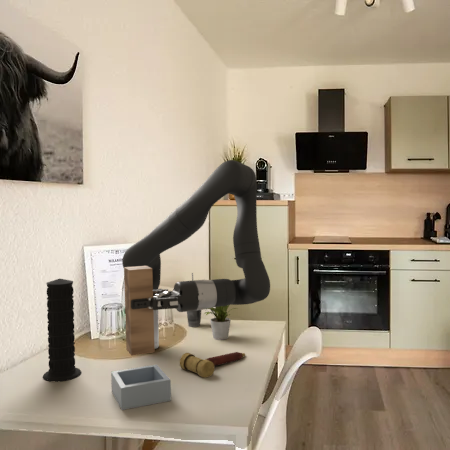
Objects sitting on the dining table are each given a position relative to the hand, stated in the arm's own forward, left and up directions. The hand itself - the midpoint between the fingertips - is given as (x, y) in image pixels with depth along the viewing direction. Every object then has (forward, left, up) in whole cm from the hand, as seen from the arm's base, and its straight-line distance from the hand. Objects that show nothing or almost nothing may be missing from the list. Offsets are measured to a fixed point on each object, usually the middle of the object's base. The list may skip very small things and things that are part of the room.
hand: (128, 302), depth 111 cm
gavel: (+3, +31, -24) cm, 39 cm away
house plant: (-15, +53, -23) cm, 60 cm away
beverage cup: (-32, +59, -23) cm, 71 cm away
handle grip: (-27, -1, -23) cm, 36 cm away
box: (+1, +2, -23) cm, 23 cm away
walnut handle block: (+1, +2, -12) cm, 12 cm away
